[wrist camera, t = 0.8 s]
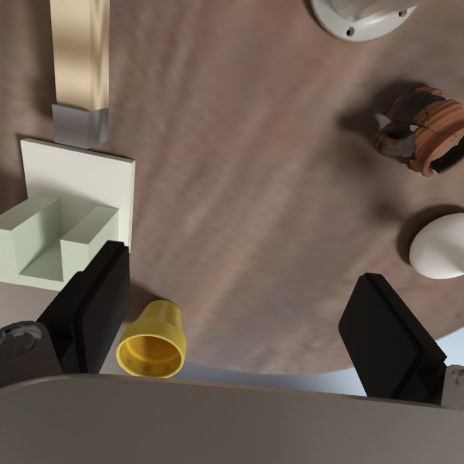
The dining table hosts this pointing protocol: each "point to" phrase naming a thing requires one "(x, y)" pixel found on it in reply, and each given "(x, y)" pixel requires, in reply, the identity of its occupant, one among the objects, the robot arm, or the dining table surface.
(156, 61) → the dining table surface
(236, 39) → the dining table surface
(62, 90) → the rail
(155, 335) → the plant pot
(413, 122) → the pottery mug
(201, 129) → the dining table surface
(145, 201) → the dining table surface
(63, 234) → the slotted block on base
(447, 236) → the flower in vase
